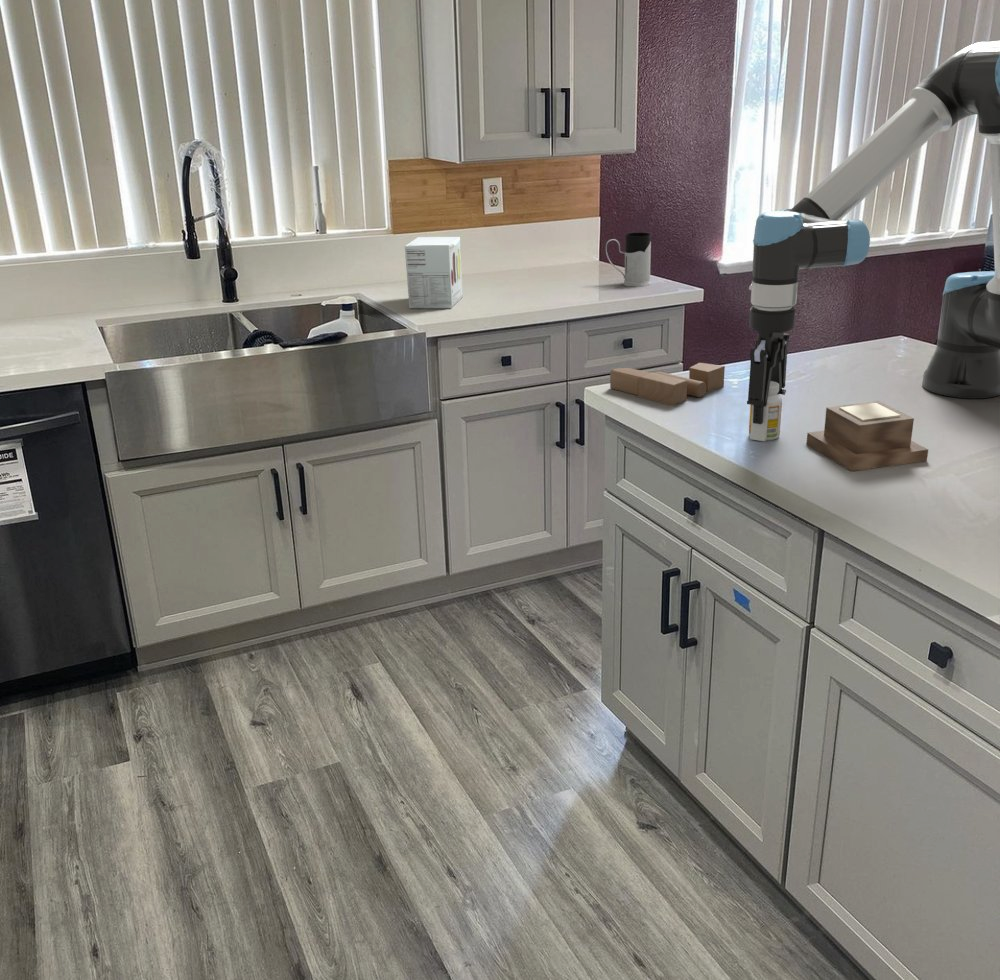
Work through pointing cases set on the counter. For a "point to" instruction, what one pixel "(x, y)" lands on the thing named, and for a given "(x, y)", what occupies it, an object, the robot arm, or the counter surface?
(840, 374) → the counter surface
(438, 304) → the supplement box
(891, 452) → the plinth
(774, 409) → the supplement bottle
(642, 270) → the glass holder
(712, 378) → the wooden block set
